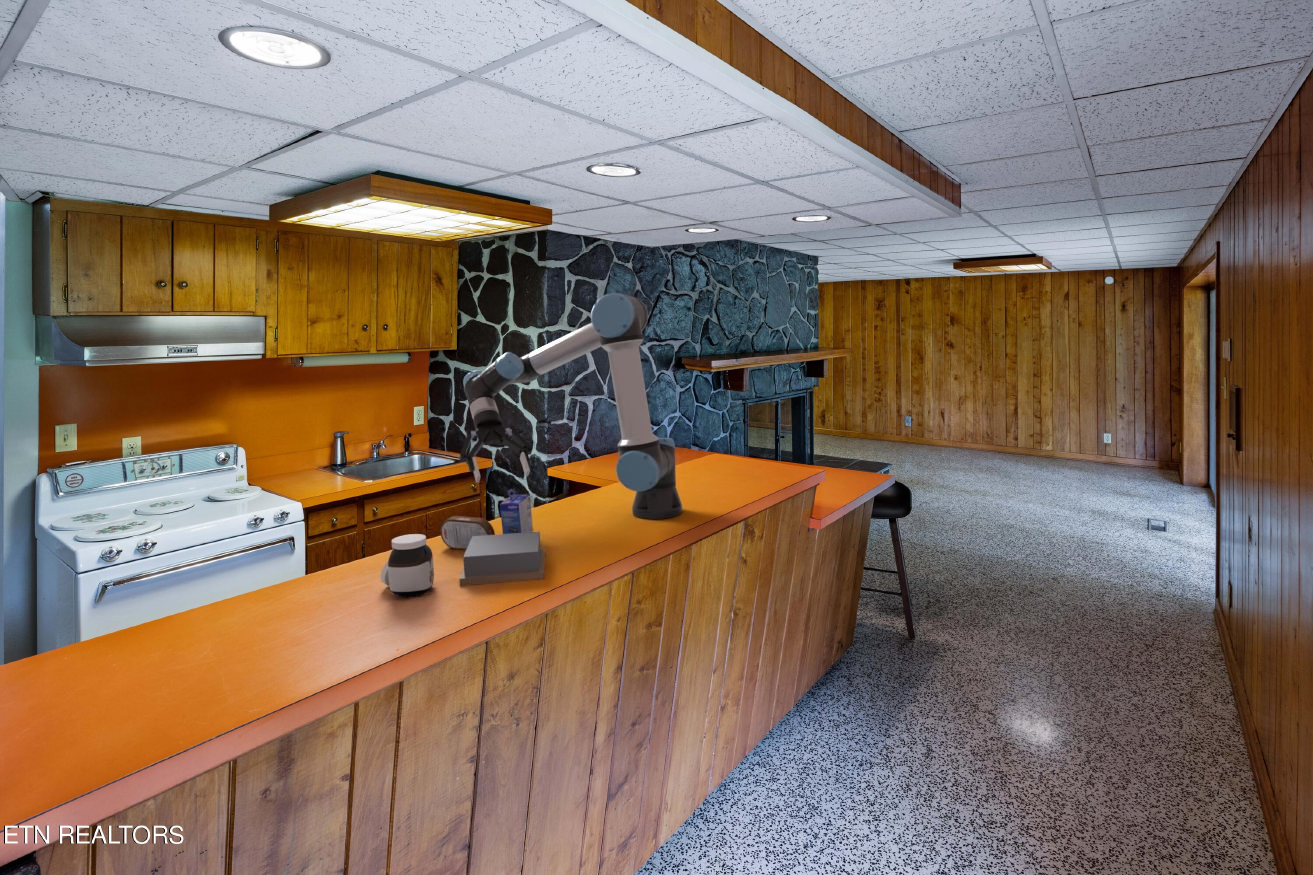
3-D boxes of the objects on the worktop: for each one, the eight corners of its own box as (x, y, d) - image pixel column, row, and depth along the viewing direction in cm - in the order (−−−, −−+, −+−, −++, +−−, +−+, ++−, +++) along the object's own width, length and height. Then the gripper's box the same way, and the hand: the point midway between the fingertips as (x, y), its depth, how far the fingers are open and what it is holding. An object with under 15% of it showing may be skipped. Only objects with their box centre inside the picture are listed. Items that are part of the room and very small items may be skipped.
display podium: (545, 553, 163) (543, 530, 162) (543, 578, 145) (542, 552, 144) (470, 559, 160) (468, 535, 159) (459, 585, 142) (457, 558, 142)
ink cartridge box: (514, 538, 177) (510, 485, 175) (534, 538, 176) (531, 485, 174) (502, 549, 167) (498, 494, 165) (523, 549, 166) (520, 494, 164)
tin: (496, 549, 167) (494, 517, 166) (489, 553, 164) (487, 520, 163) (447, 545, 172) (444, 514, 171) (439, 549, 169) (437, 517, 168)
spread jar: (421, 600, 135) (417, 545, 133) (367, 601, 135) (362, 546, 134) (443, 579, 147) (439, 529, 145) (393, 580, 147) (388, 529, 145)
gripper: (525, 421, 198) (544, 478, 187) (440, 428, 186) (455, 490, 175) (530, 405, 193) (550, 463, 182) (442, 411, 181) (458, 473, 170)
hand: (503, 476), depth 178 cm, fingers open, 13 cm apart
